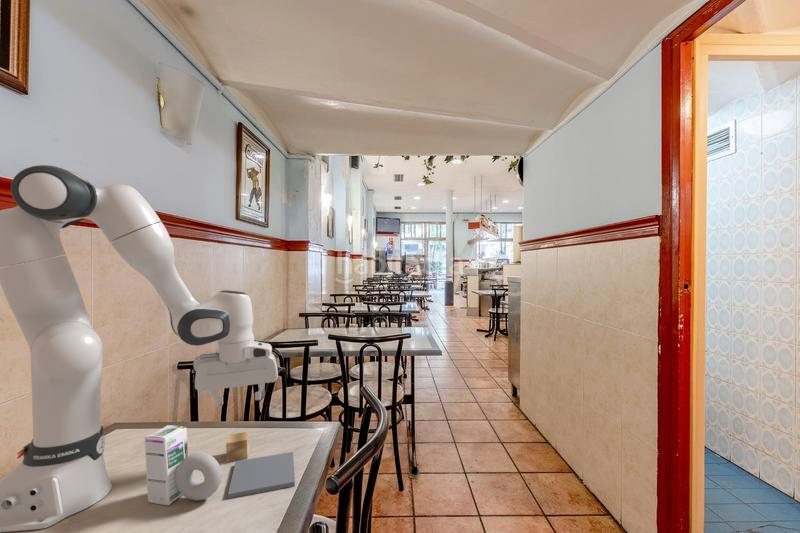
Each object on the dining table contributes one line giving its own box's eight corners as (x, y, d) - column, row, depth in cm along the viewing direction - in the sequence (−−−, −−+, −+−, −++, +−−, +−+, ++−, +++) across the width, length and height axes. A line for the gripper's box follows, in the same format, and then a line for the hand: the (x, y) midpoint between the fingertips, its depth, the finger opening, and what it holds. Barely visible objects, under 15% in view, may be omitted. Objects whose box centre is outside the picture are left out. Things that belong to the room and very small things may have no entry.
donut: (225, 495, 81) (224, 450, 81) (216, 505, 78) (215, 458, 78) (182, 492, 82) (181, 448, 82) (171, 502, 79) (171, 456, 78)
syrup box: (168, 506, 77) (165, 438, 77) (146, 502, 79) (143, 435, 79) (190, 490, 83) (187, 426, 83) (169, 486, 85) (167, 424, 84)
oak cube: (226, 462, 95) (226, 443, 95) (229, 452, 100) (228, 434, 100) (247, 458, 96) (246, 440, 96) (249, 449, 101) (248, 431, 101)
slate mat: (228, 498, 80) (227, 494, 80) (235, 465, 93) (235, 461, 93) (294, 486, 84) (294, 481, 84) (293, 455, 98) (293, 451, 98)
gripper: (190, 358, 92) (192, 412, 92) (276, 349, 98) (278, 400, 98) (195, 352, 98) (198, 403, 98) (276, 344, 104) (278, 392, 104)
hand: (239, 401), depth 98 cm, fingers open, 8 cm apart
